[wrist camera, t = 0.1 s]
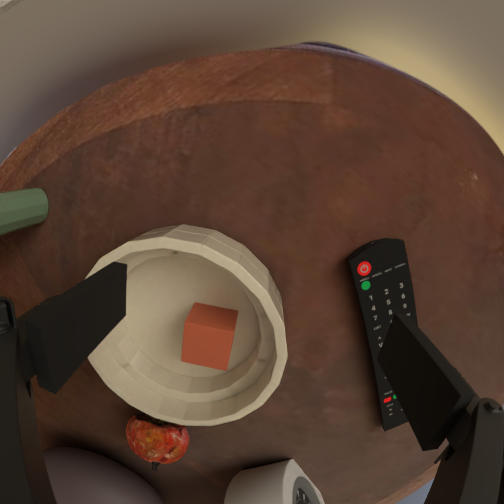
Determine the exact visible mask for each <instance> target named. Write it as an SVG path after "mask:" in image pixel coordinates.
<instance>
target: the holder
mask: <svg viewBox="0 0 504 504" xmlns="http://www.w3.org/2000/svg"><path fill="white" fill-rule="evenodd" d="M48 208H49V204H48V199H47V196H46V194H45V192H44V191H43V190H42V189H40V188H38V187H35V188H32V187H31V188H24V189H16V190H10V191H3V192H0V236H3V235H6V234H9V233H12V232H15V231H18V230H22V229H25V228H28V227H32V226H35V225H37V224H40V223H42V222H43V221H44V220H45V219H46V217H47V214H48Z"/></svg>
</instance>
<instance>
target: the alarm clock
mask: <svg viewBox="0 0 504 504" xmlns="http://www.w3.org/2000/svg"><path fill="white" fill-rule="evenodd" d="M224 504H324V500H323V498H322V495H321V493H320V491H319V490H318V489H317V488H316V487H315V485H314V484H313V483H312V482H311V481H310V479H309V478H308V477H307V476H306V474H305V473H304V472H303V471H302V469H301V468H300V467H299V466H298V464H297V463H296V462H295V461H294V460H293V459H290V460H286V461H282V462H278V463H274V464H270V465H265V466H261V467H256V468H251V469H246V470H241V471H240V472H239V473H238V474H237V475H235V476H234V477H233V478H232V480H231V482H230V484H229V486H228V488H227V491H226V495H225V500H224Z"/></svg>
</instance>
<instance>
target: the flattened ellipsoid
mask: <svg viewBox="0 0 504 504" xmlns="http://www.w3.org/2000/svg"><path fill="white" fill-rule="evenodd" d="M43 456H44V460H45V464H46V468H47V472H48V476H49V479H50V483H51V486H52V490H53V493H54V496H55V499H56V502H57V504H166V503H165V501H164V500H163V499H162V497H161V496H160V494H159V493H158V492H157V491H156V490H155V489H154V488H153V487H152V486H150V485H149V484H148V483H147V482H146V481H145V480H143V479H142V478H141V477H140V476H138V475H137V474H135V473H134V472H132V471H131V470H129V469H127V468H126V467H124V466H122V465H121V464H119V463H117V462H115V461H113V460H111V459H108V458H106V457H104V456H102V455H99V454H96V453H94V452H91V451H87V450H83V449H79V448H73V447H52V448H49V449H46V450H44V451H43Z"/></svg>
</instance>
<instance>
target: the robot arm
mask: <svg viewBox="0 0 504 504" xmlns="http://www.w3.org/2000/svg"><path fill="white" fill-rule="evenodd" d="M126 288H127V264H124V263H119V262H115V261H113V262H112V263H110V264H108V265H107V266H105V267H104V268H102V269H100V270H99V271H97V272H96V273H94V274H92V275H91V276H89V277H88V278H86V279H84V280H83V281H81V282H80V283H78V284H77V285H75V286H74V287H72V288H71V289H69V290H67V291H66V292H64V293H63V294H61V295H60V296H59V295H57V296H54V297H51V298H48V299H46V300H44V301H43V302H41V303H40V305H37V306H35V307H34V308H33V309H31V310H29V311H28V312H26V313H25V314H23V315H22V316H21V317H19V318H18V319H16V316H15V310H14V304H13V301H12V300H11V299H9V298H7V297H0V504H57V502H56V499H55V496H54V493H53V490H52V486H51V483H50V479H49V476H48V472H47V468H46V464H45V460H44V456H43V451H42V447H41V442H40V437H39V431H38V426H37V419H36V413H35V405H34V397H33V387H32V383H31V380H30V379H31V378H32V377H33V376H34V375H35V374H36V375H37V379H38V383H39V386H40V387H42V388H44V389H46V390H48V391H50V392H52V393H54V394H56V393H57V392H58V391H59V389H60V388H61V387H62V386H63V385H64V384H65V383H66V381H67V380H68V379H69V378H70V377H71V376H72V374H73V373H74V372H75V371H76V370H77V369H78V368H79V366H80V365H81V364H82V363H83V362H84V361H85V360H86V359H87V357H88V356H89V355H90V354H91V353H92V352H93V351H94V350H95V349H96V347H97V346H98V345H99V344H100V343H101V342H102V341H103V340H104V339H105V338H106V336H107V335H108V334H109V333H110V332H111V331H112V330H113V329H114V328H115V327H116V326H117V325H118V323H119V322H120V321H121V320H122V319H123V318H124V317H125V316H126ZM376 360H377V361H378V363H379V365H380V367H381V369H382V371H383V373H384V374H385V376H386V378H387V380H388V382H389V384H390V386H391V388H392V390H393V392H394V394H395V395H396V397H397V399H398V401H399V403H400V405H401V407H402V409H403V411H404V413H405V415H406V417H407V419H408V421H409V423H410V425H411V427H412V429H413V431H414V434H415V436H416V438H417V440H418V442H419V444H420V446H421V448H422V450H423V451H427V450H433V449H438V448H439V446H440V445H441V444H442V442H443V441H444V440H445V438H447V440H448V442H449V445H448V446H447V447H446V448H445V450H444V451H443V452H442V453H441V455H440V456H439V457H438V458H437V459H436V461H435V462H434V463H435V464H436V463H437V462H438V461H439V460H441V462H440V465H439V467H438V470H437V473H436V476H435V478H434V481H433V483H432V486H431V488H430V491H429V493H428V495H427V498H426V500H425V502H424V504H504V410H503V408H502V407H501V405H500V404H499V403H498V402H496V401H494V400H493V399H489V398H482V399H480V398H479V396H478V395H477V394H476V393H475V391H474V390H473V389H472V388H471V386H470V385H469V384H468V383H467V382H466V380H465V379H464V378H463V377H462V375H461V374H460V373H459V372H458V370H457V369H456V368H454V367H453V366H452V365H451V364H450V363H449V362H448V361H447V359H446V358H445V357H444V356H443V355H442V354H441V352H440V351H439V350H438V349H437V348H436V347H435V345H434V344H433V343H432V342H431V341H430V340H429V339H428V337H427V336H426V335H425V334H424V333H423V332H422V331H421V330H420V328H419V327H418V326H417V325H416V324H415V323H414V322H413V321H412V320H411V319H410V317H409V316H408V315H406V314H398V313H394V316H393V319H392V321H391V324H390V327H389V329H388V332H387V334H386V337H385V340H384V342H383V345H382V347H381V349H380V352H379V354H378V357H377V359H376Z"/></svg>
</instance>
